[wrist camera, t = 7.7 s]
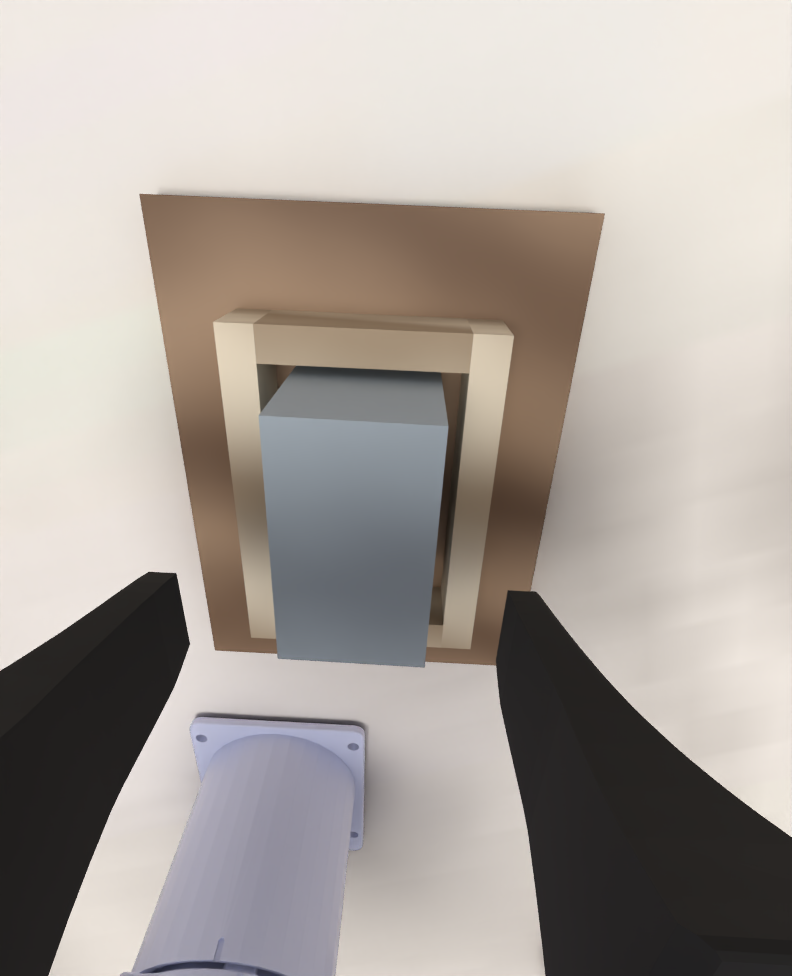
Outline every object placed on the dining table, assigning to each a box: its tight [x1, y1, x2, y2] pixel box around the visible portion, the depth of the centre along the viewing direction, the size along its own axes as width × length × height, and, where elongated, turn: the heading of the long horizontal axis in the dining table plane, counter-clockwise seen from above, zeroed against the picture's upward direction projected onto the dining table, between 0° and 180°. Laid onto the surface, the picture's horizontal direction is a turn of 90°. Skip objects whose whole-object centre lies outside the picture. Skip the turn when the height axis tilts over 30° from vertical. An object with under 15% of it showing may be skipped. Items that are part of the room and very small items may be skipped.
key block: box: [259, 366, 448, 667], centre depth 15 cm, size 4×7×5 cm, turn 177°
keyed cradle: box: [140, 194, 605, 665], centre depth 17 cm, size 16×12×3 cm
